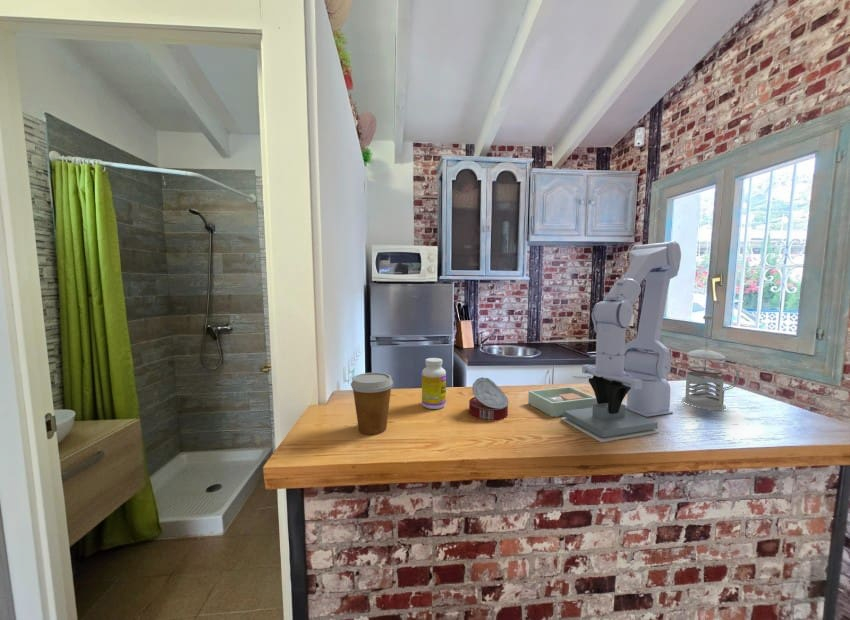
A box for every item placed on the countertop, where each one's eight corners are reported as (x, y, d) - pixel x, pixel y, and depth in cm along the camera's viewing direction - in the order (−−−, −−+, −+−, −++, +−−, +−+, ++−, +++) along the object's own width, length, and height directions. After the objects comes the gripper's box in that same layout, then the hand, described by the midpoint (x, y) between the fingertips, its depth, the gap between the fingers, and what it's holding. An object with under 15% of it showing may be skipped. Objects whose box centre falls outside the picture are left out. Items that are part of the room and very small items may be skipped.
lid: (613, 409, 81) (614, 393, 80) (657, 428, 70) (658, 410, 69) (563, 416, 76) (564, 399, 76) (602, 437, 65) (602, 418, 65)
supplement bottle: (444, 410, 82) (444, 362, 81) (419, 409, 84) (419, 361, 83) (447, 402, 89) (447, 357, 88) (424, 400, 90) (424, 356, 89)
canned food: (496, 423, 85) (513, 391, 85) (502, 437, 75) (521, 400, 75) (459, 403, 87) (476, 371, 86) (460, 413, 76) (479, 377, 76)
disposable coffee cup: (400, 423, 74) (399, 373, 74) (381, 441, 65) (381, 385, 65) (364, 418, 78) (364, 370, 77) (342, 434, 69) (342, 381, 68)
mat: (612, 412, 81) (612, 410, 81) (658, 432, 69) (658, 430, 69) (561, 419, 76) (561, 418, 76) (601, 442, 65) (601, 440, 65)
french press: (679, 395, 94) (683, 313, 92) (732, 403, 87) (737, 314, 86) (681, 405, 86) (686, 315, 84) (741, 415, 79) (746, 317, 78)
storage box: (569, 398, 92) (569, 386, 91) (597, 410, 82) (597, 397, 82) (528, 403, 88) (528, 391, 87) (552, 416, 78) (552, 403, 78)
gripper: (572, 348, 78) (571, 401, 79) (624, 360, 64) (622, 425, 65) (595, 347, 80) (593, 399, 81) (650, 358, 66) (648, 421, 67)
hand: (608, 410), depth 73 cm, fingers closed on lid, 2 cm apart
